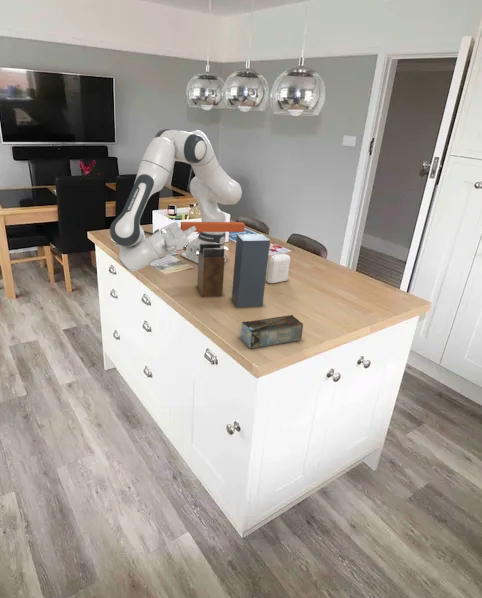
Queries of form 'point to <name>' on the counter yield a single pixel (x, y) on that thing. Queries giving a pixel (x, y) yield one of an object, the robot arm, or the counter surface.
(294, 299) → the counter surface
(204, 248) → the wood grain post
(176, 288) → the counter surface
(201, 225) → the orange bar
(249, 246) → the stand
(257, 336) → the beverage carton
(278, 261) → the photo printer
